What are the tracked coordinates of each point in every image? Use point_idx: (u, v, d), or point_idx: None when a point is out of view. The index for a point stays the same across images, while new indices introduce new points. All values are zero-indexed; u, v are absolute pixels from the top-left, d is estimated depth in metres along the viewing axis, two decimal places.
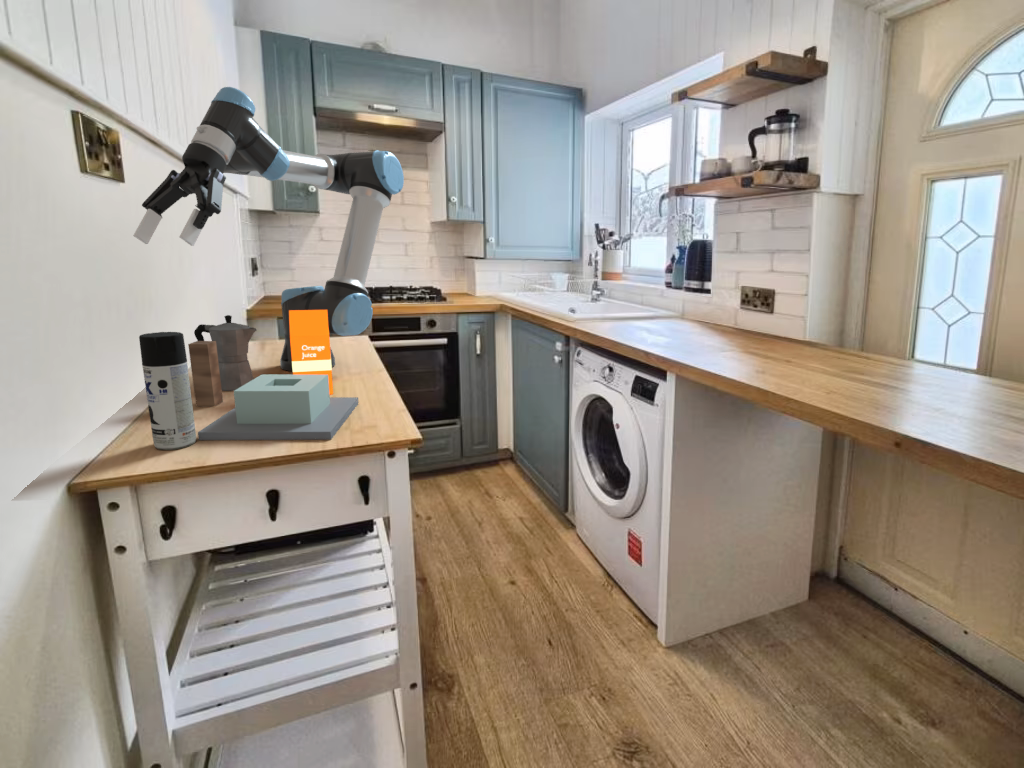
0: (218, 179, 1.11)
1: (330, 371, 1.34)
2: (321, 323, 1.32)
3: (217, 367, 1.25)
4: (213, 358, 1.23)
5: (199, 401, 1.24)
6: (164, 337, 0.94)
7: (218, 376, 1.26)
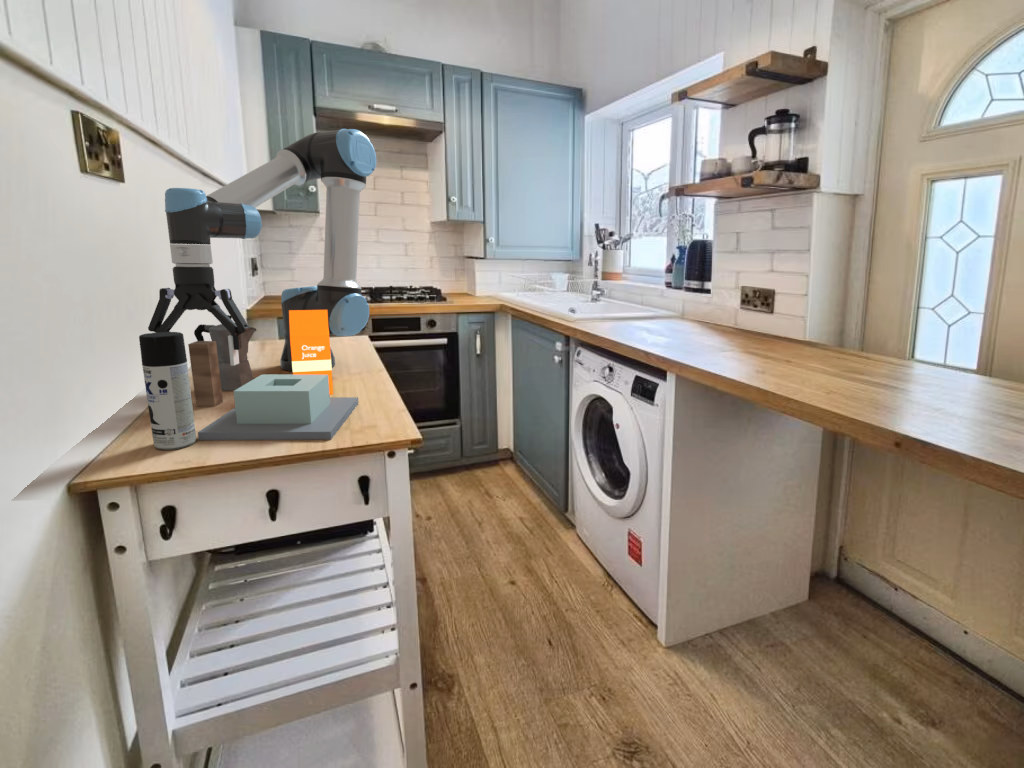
0: (228, 297, 1.20)
1: (330, 371, 1.34)
2: (321, 323, 1.32)
3: (217, 367, 1.25)
4: (213, 358, 1.23)
5: (199, 401, 1.24)
6: (164, 337, 0.94)
7: (218, 376, 1.26)
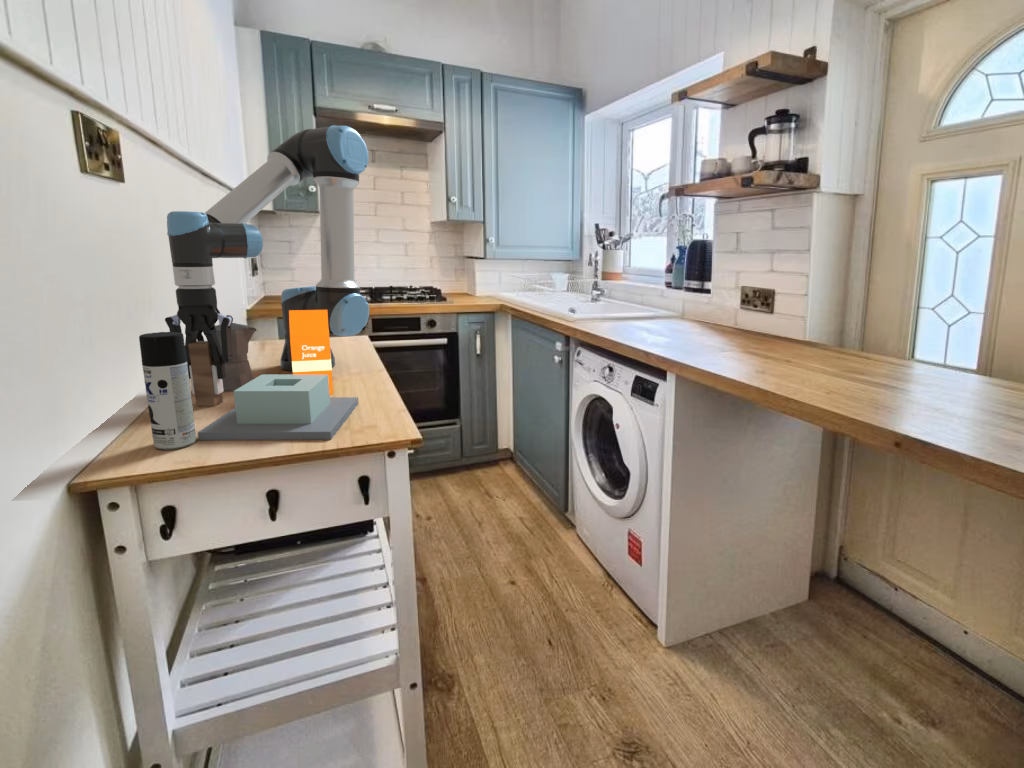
0: (228, 326, 1.22)
1: (330, 371, 1.34)
2: (321, 323, 1.32)
3: None
4: None
5: (199, 401, 1.24)
6: (164, 337, 0.94)
7: None
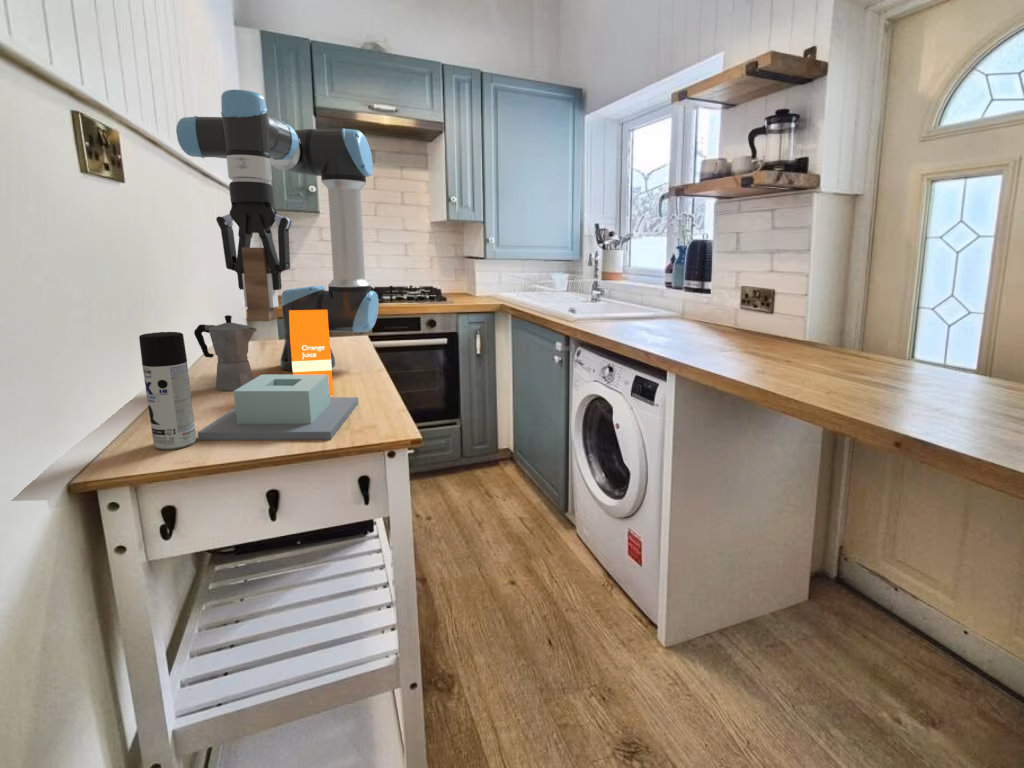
0: (286, 228, 1.08)
1: (330, 371, 1.34)
2: (321, 323, 1.32)
3: None
4: (268, 266, 1.09)
5: (252, 315, 1.09)
6: (164, 337, 0.94)
7: None
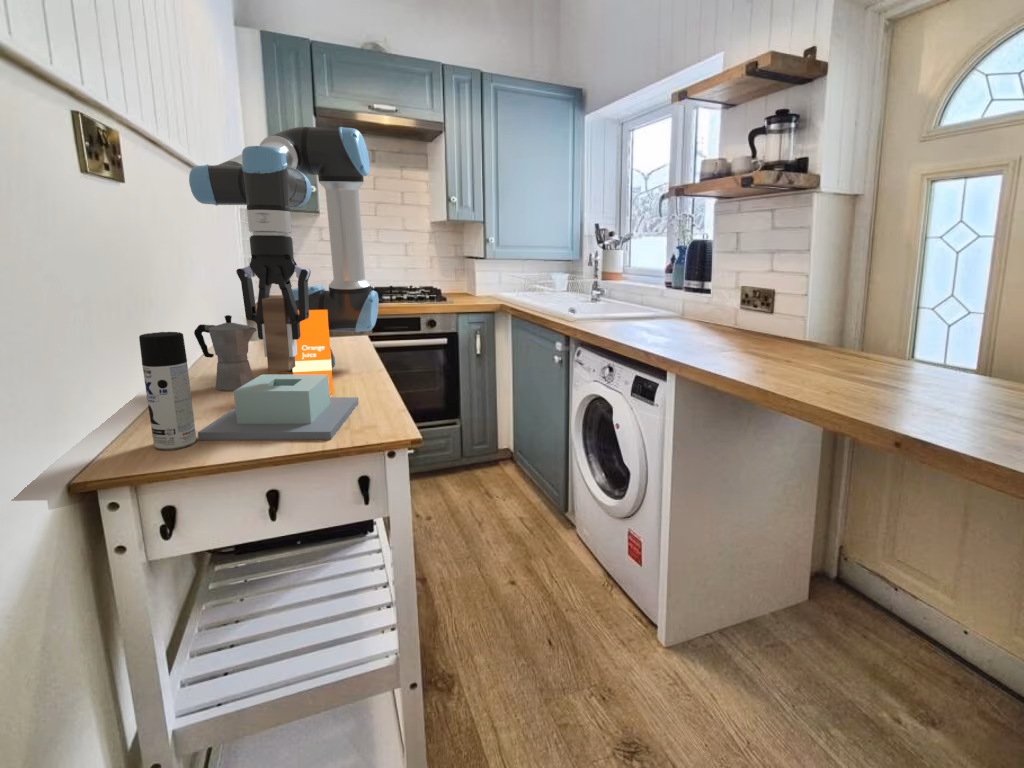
0: (306, 279, 1.09)
1: (330, 371, 1.34)
2: (321, 323, 1.32)
3: None
4: (288, 316, 1.10)
5: (272, 364, 1.10)
6: (164, 337, 0.94)
7: None
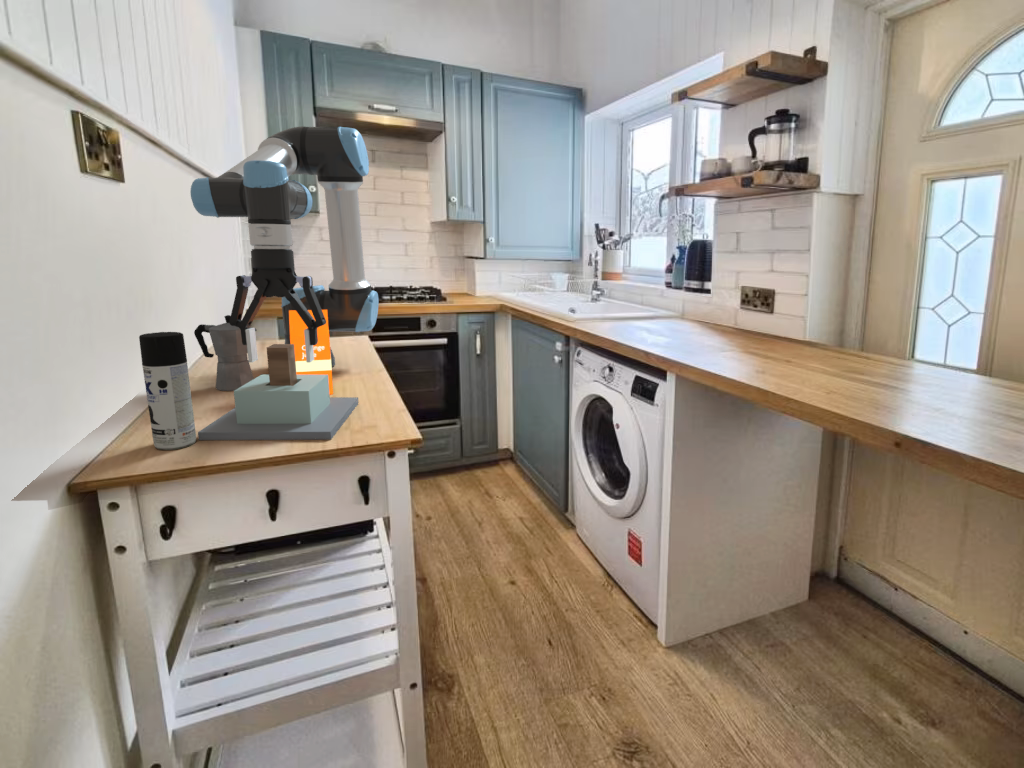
0: (310, 286, 1.09)
1: (330, 371, 1.34)
2: None
3: (295, 373, 1.14)
4: (292, 362, 1.12)
5: None
6: (164, 337, 0.94)
7: (295, 382, 1.15)
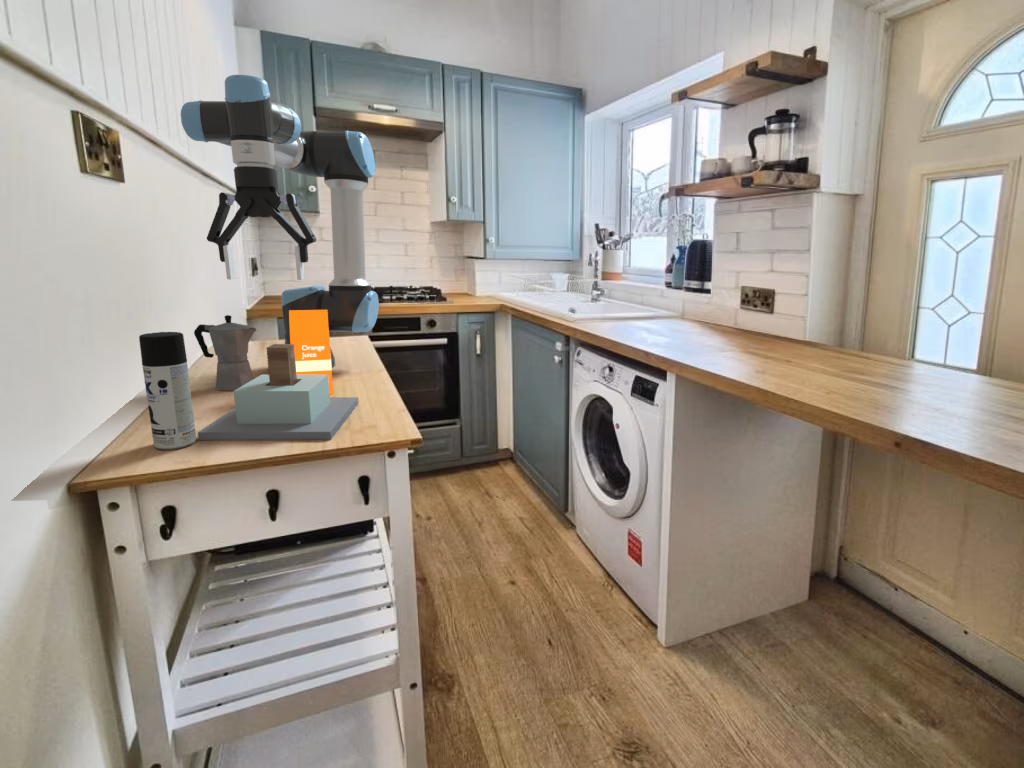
0: (294, 203, 1.10)
1: (330, 371, 1.34)
2: (321, 323, 1.32)
3: (295, 373, 1.14)
4: (292, 362, 1.12)
5: None
6: (164, 337, 0.94)
7: (295, 382, 1.15)
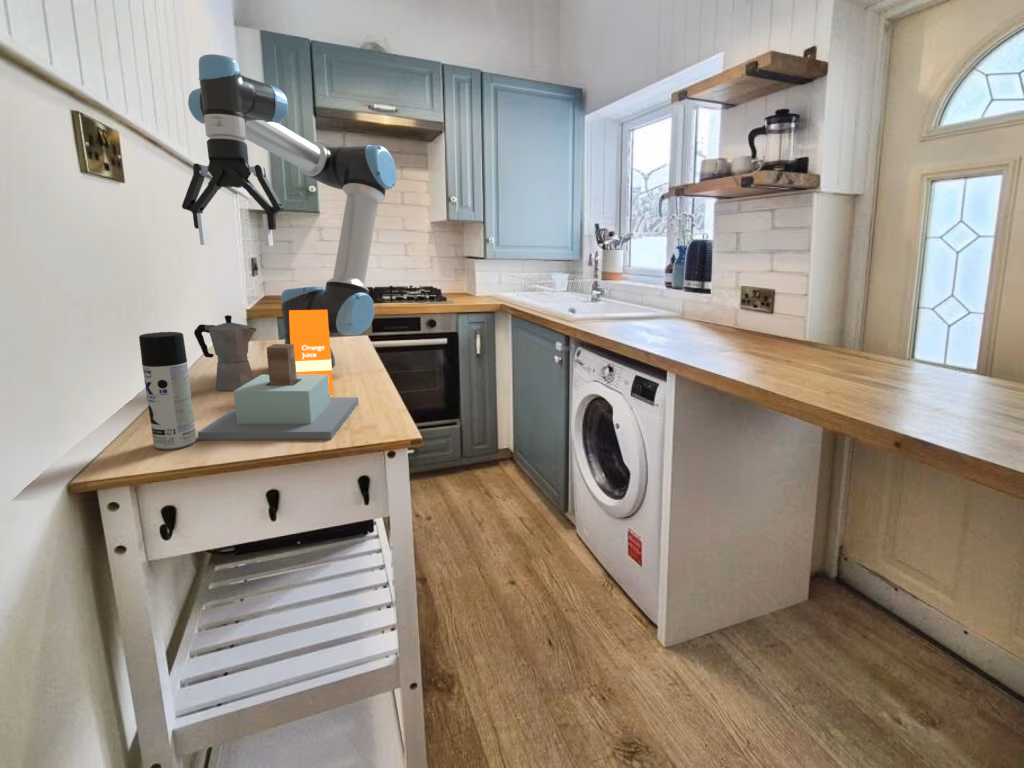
0: (263, 174, 1.19)
1: (330, 371, 1.34)
2: (321, 323, 1.32)
3: (295, 373, 1.14)
4: (292, 362, 1.12)
5: None
6: (164, 337, 0.94)
7: (295, 382, 1.15)
